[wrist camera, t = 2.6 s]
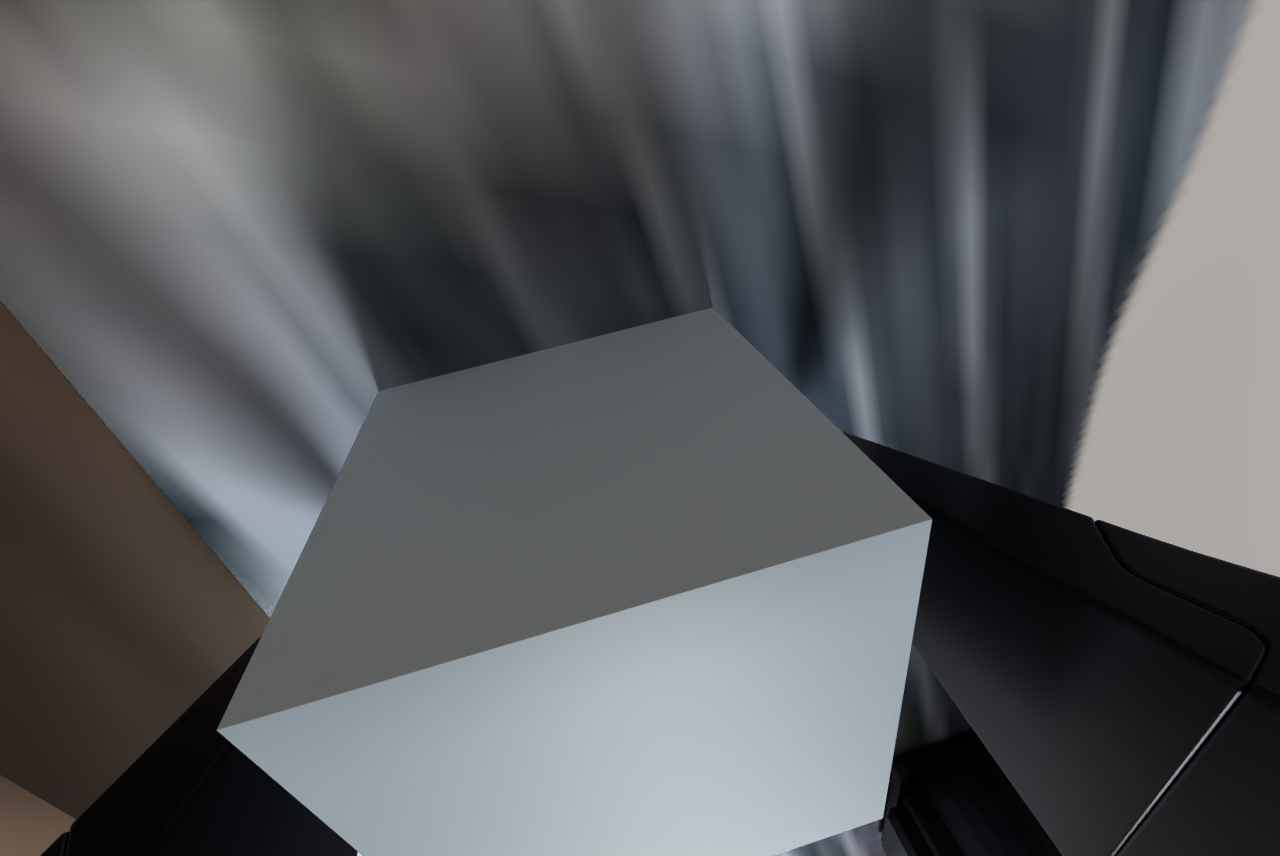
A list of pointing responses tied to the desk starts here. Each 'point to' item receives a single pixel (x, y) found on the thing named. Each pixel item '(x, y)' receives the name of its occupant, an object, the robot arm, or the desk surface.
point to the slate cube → (594, 613)
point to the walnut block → (91, 603)
